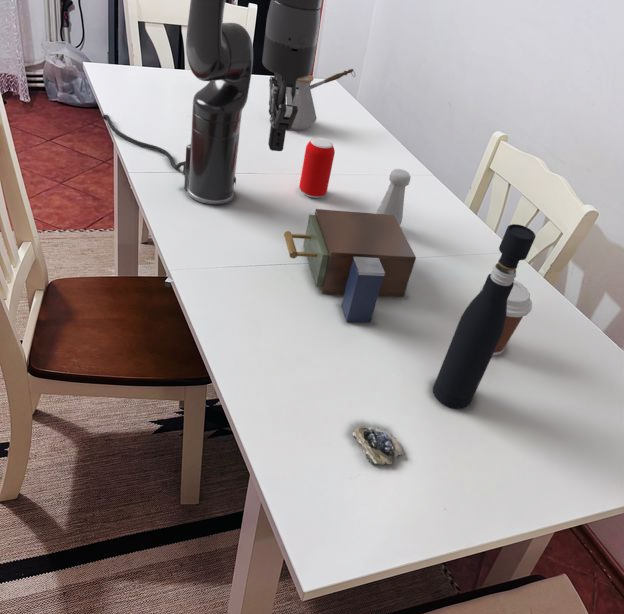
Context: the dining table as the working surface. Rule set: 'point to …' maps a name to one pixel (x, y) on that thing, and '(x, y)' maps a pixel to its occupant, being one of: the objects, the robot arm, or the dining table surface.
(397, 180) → the salt shaker
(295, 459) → the dining table surface
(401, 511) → the dining table surface
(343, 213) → the cabinet
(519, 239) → the black bottle
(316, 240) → the drawer
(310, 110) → the coffee pot
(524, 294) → the coffee cup
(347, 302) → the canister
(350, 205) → the dining table surface
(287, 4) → the robot arm
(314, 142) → the beverage can
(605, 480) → the dining table surface
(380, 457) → the mineral rock
